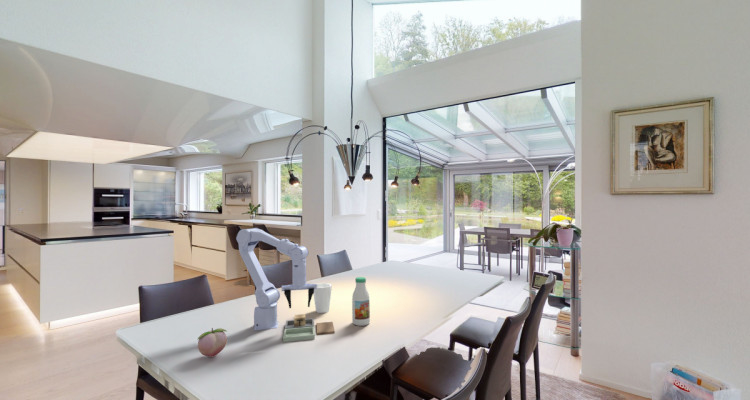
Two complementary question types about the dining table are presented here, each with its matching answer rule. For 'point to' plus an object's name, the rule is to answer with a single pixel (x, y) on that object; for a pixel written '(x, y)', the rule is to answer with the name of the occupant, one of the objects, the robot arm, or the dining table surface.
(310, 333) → the sage tray
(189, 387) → the dining table surface
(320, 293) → the foam cup
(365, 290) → the milk bottle
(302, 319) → the letter cube
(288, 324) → the gray tray
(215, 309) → the dining table surface
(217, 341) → the decorative fruit
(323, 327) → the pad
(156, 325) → the dining table surface
